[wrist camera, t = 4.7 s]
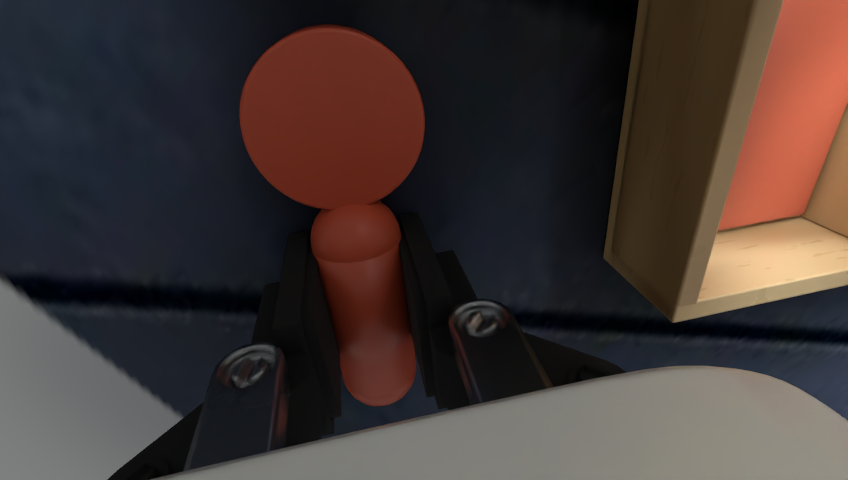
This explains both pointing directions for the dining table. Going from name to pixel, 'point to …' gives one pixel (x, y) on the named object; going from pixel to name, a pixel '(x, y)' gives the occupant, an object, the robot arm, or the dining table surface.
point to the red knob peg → (344, 183)
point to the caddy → (733, 154)
